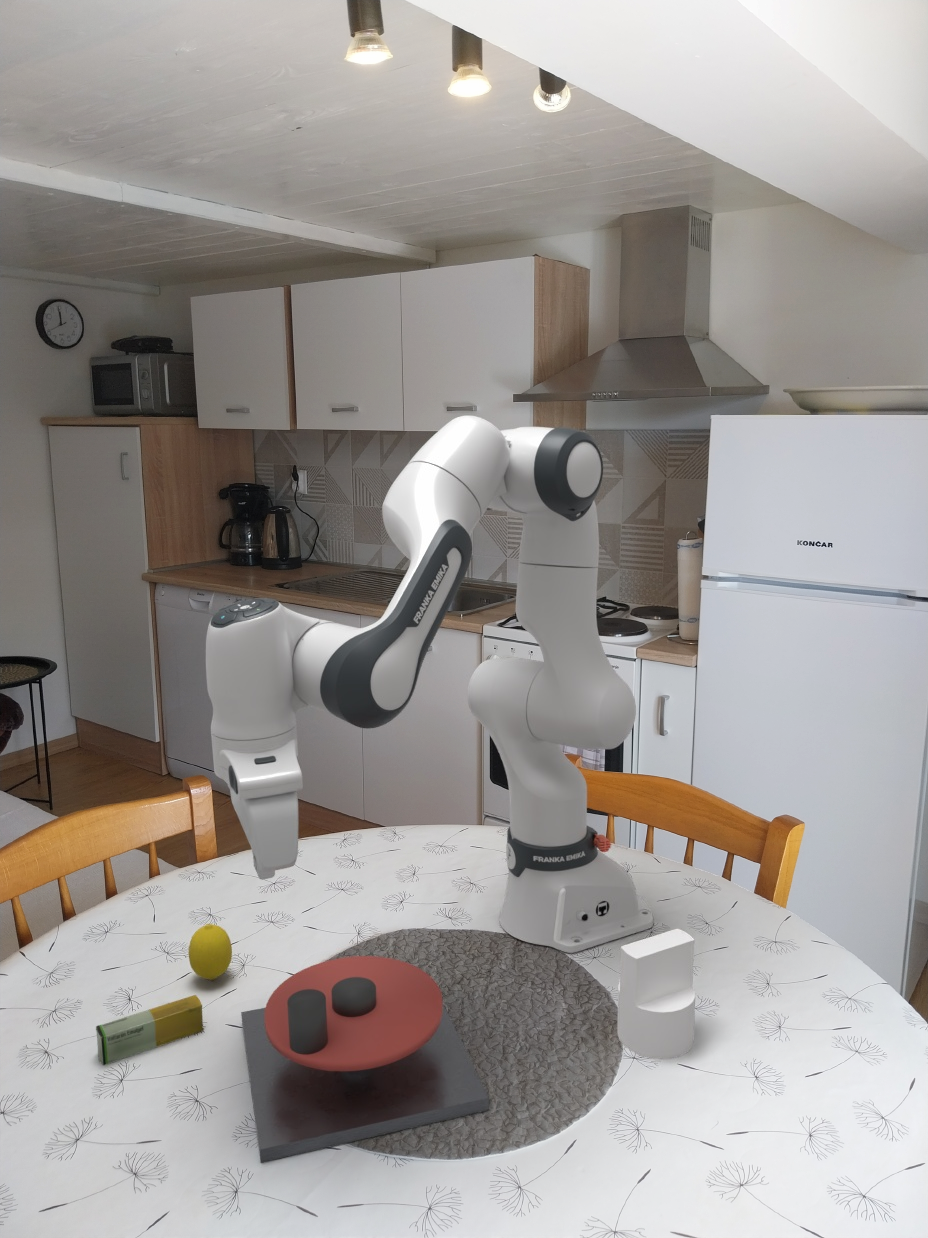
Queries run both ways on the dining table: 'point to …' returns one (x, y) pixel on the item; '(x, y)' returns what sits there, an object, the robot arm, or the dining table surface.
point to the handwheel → (353, 1013)
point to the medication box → (149, 1029)
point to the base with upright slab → (657, 995)
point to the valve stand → (355, 1093)
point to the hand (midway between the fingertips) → (264, 873)
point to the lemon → (210, 951)
